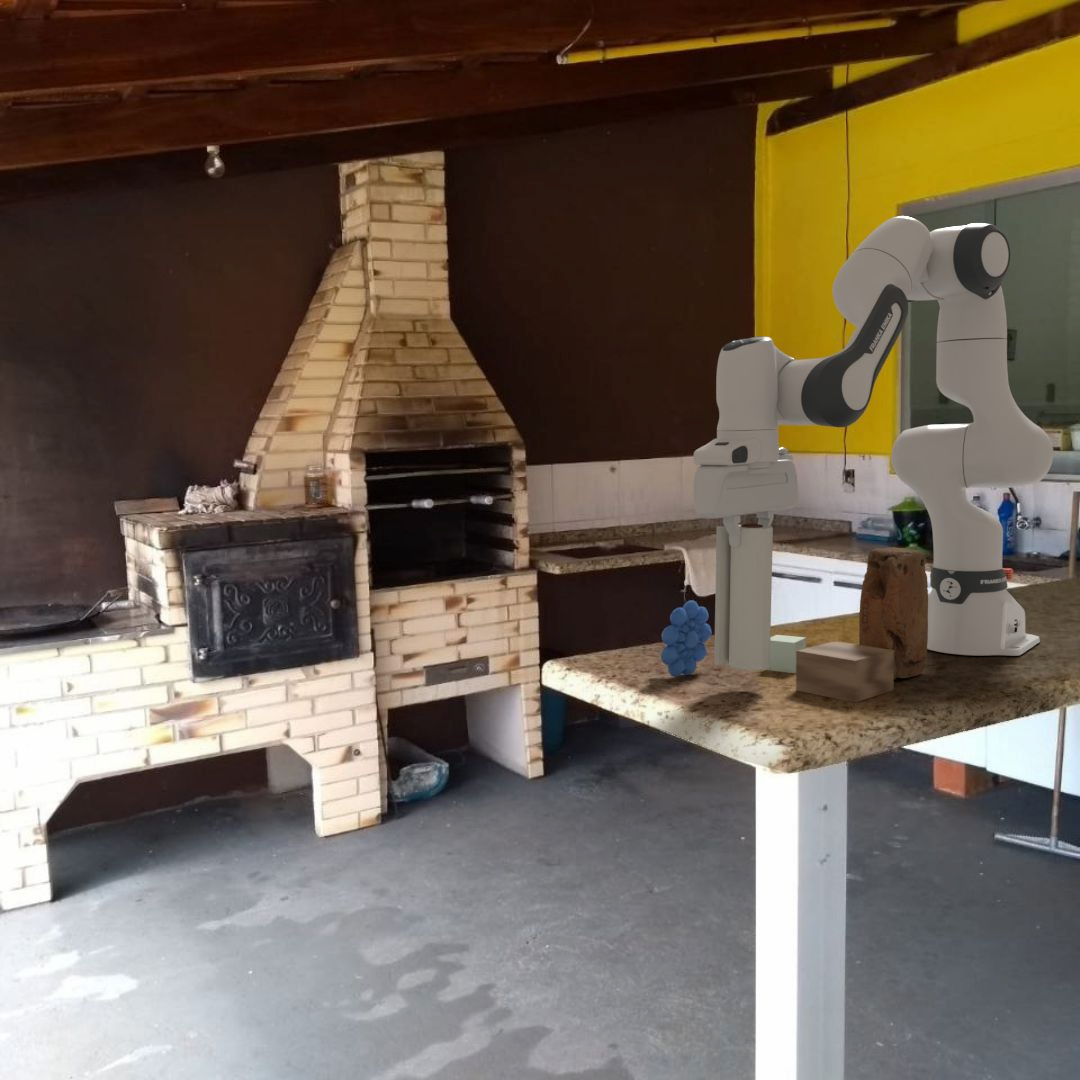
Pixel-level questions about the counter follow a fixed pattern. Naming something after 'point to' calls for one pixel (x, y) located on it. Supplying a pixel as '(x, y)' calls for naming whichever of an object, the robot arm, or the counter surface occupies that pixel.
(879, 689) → the walnut block
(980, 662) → the counter surface
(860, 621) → the block
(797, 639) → the green cube
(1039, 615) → the counter surface
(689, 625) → the grapes
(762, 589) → the paper towel roll
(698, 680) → the counter surface
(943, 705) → the counter surface
